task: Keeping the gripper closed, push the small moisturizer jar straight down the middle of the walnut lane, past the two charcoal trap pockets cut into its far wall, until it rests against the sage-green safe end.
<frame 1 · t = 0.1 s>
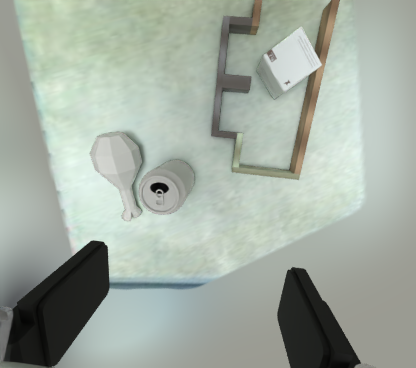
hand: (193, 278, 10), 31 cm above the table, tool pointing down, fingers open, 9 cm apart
skincare box: (279, 74, 35), resting in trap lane
chicken leg: (131, 176, 43), on the table
can: (177, 177, 42), on the table
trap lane: (275, 95, 36), on the table
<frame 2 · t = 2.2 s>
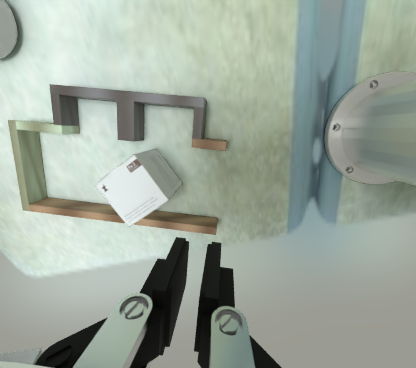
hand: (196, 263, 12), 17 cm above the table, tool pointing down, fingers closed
skincare box: (154, 176, 29), resting in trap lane
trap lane: (129, 174, 29), on the table
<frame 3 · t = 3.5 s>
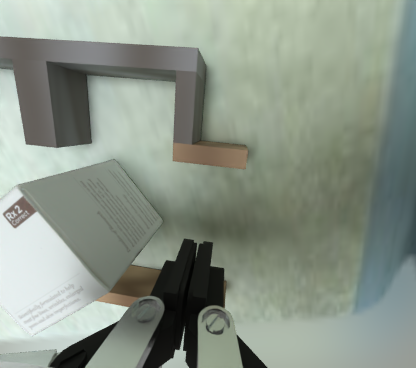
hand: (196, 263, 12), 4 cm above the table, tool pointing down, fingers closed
skincare box: (115, 207, 16), resting in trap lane
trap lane: (72, 203, 16), on the table
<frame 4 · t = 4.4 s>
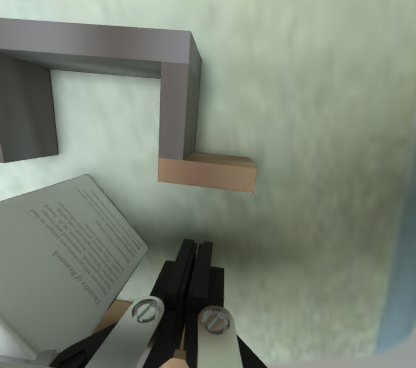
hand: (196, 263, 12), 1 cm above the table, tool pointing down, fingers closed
skincare box: (90, 231, 13), resting in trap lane, touching gripper
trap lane: (37, 226, 13), on the table
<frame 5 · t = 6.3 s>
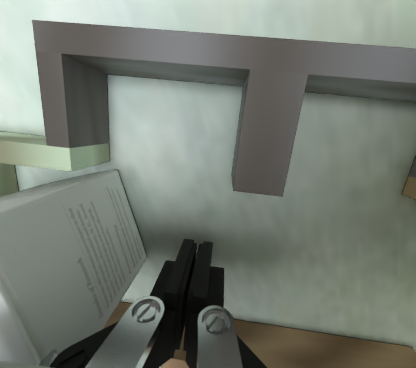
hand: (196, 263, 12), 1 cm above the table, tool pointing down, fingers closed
skincare box: (93, 221, 13), resting in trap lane, touching gripper
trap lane: (221, 253, 13), on the table
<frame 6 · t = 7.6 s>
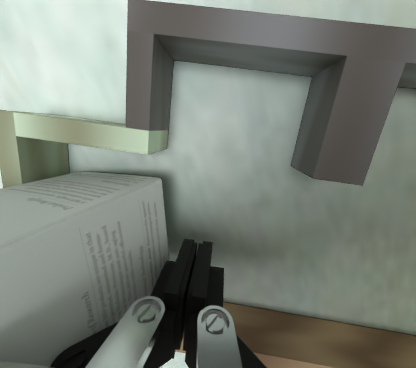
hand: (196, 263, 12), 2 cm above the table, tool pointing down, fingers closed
skincare box: (129, 220, 12), point 1 cm above the table, touching gripper, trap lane
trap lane: (271, 244, 13), on the table
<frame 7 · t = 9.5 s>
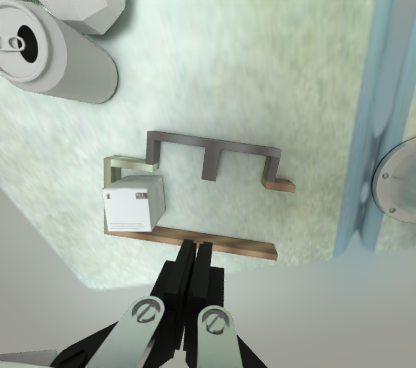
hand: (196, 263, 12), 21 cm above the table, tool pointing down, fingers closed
skincare box: (147, 193, 33), resting in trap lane
chicken leg: (68, 4, 27), on the table
can: (95, 76, 29), on the table
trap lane: (199, 204, 33), on the table
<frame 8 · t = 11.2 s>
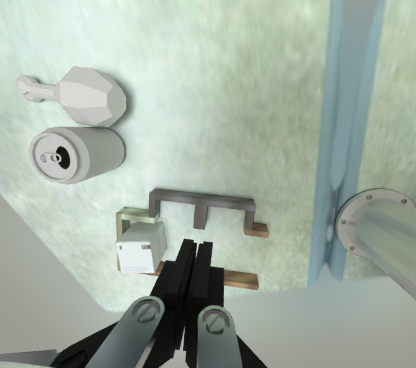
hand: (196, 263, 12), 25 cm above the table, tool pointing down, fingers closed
skincare box: (151, 235, 40), resting in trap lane
chicken leg: (83, 98, 35), on the table
can: (107, 148, 37), on the table
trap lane: (193, 244, 40), on the table
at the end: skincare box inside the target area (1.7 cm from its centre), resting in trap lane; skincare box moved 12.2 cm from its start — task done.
